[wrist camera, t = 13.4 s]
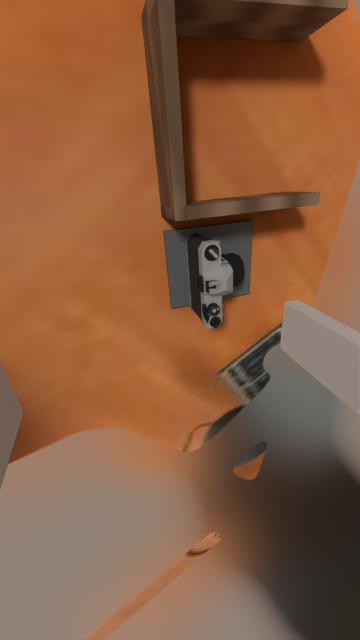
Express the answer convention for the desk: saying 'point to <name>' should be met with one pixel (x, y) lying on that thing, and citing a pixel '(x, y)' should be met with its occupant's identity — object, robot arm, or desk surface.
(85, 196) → the desk surface
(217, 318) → the camera
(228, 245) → the mat
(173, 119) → the cubby
